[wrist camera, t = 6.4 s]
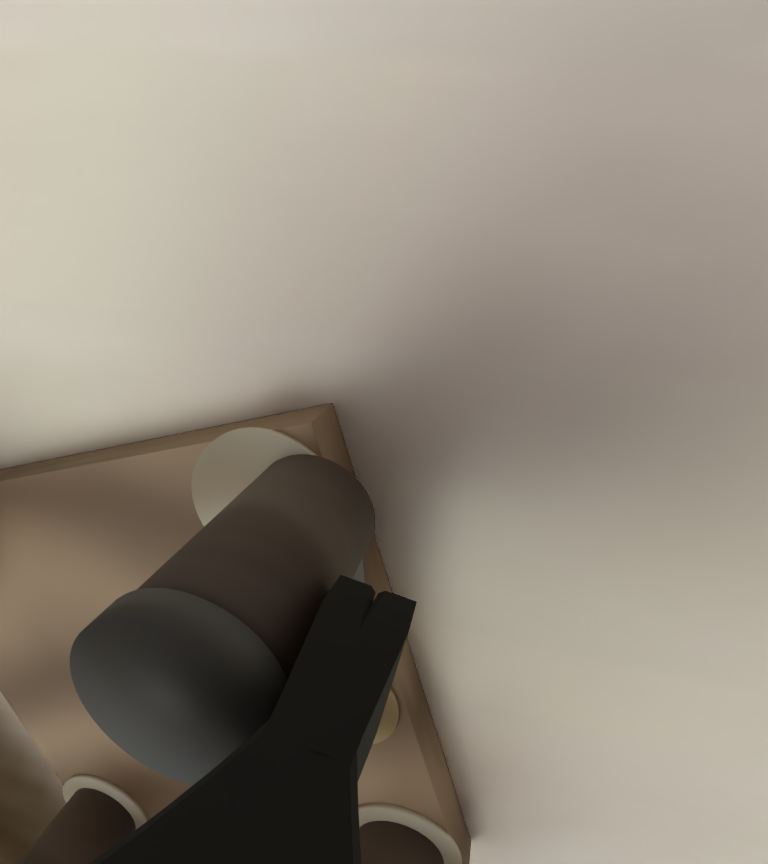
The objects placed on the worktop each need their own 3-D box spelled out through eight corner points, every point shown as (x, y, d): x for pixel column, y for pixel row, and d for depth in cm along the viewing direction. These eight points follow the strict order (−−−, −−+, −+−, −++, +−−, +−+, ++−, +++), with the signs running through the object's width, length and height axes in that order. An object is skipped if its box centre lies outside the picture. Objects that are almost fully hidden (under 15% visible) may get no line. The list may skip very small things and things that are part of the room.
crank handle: (393, 746, 15) (328, 1014, 10) (290, 724, 15) (181, 959, 10) (374, 454, 11) (254, 637, 6) (242, 446, 12) (40, 601, 7)
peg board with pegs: (476, 845, 19) (455, 1157, 12) (116, 802, 25) (-21, 996, 18) (336, 395, 13) (166, 545, 7) (-85, 481, 19) (-383, 604, 13)
